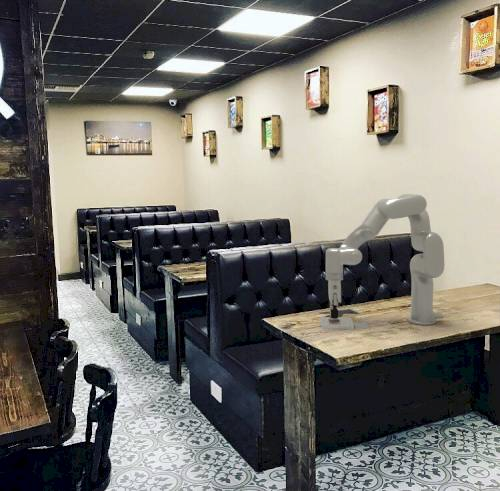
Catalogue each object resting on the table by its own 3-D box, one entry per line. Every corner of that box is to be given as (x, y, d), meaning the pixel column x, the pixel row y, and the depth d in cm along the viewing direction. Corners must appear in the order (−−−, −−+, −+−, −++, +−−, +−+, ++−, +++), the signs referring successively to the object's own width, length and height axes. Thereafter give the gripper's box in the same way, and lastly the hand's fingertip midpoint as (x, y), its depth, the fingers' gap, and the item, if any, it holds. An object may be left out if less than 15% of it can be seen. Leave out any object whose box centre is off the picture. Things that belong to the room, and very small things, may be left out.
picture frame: (329, 324, 236) (367, 319, 242) (329, 318, 235) (367, 313, 242) (314, 316, 250) (350, 312, 257) (313, 310, 250) (350, 306, 257)
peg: (337, 316, 227) (337, 301, 226) (338, 319, 224) (338, 303, 223) (329, 316, 228) (329, 301, 227) (330, 318, 224) (330, 303, 223)
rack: (366, 324, 231) (366, 316, 230) (370, 332, 219) (370, 324, 218) (319, 324, 233) (319, 316, 232) (321, 332, 221) (321, 323, 220)
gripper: (344, 279, 215) (344, 321, 217) (341, 273, 231) (340, 312, 233) (326, 279, 216) (326, 321, 218) (324, 273, 232) (324, 312, 234)
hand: (334, 316), depth 226 cm, fingers closed on peg, 3 cm apart
